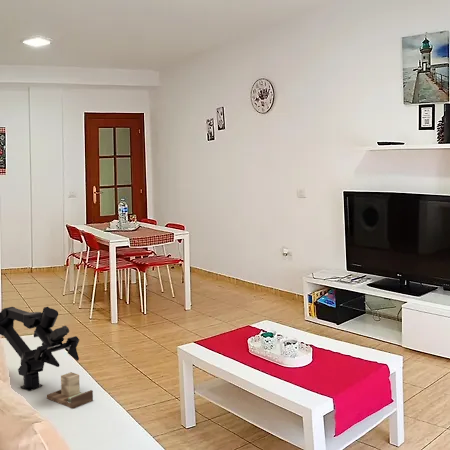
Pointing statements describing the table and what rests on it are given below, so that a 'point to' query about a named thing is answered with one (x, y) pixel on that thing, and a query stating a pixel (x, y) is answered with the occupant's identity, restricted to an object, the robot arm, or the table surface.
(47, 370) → the table surface
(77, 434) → the table surface
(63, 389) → the birch block
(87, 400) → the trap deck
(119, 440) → the table surface
